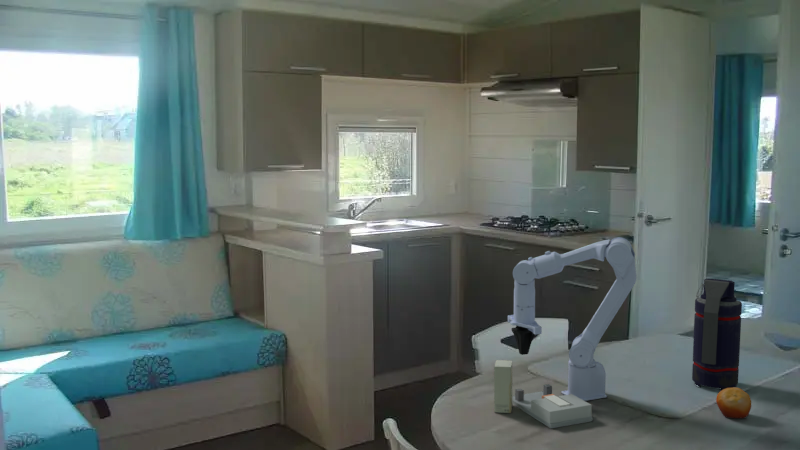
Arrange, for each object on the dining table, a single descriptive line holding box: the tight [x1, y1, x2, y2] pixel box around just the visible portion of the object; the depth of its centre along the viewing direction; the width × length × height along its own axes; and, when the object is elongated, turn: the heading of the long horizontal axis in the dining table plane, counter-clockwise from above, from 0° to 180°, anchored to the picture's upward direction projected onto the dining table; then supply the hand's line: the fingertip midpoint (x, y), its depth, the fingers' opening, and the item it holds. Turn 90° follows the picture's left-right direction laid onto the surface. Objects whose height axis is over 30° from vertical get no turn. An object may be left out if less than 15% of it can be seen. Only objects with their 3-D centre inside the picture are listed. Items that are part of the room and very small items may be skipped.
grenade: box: [691, 278, 743, 391], centre depth 216 cm, size 14×12×30 cm
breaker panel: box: [512, 383, 593, 429], centre depth 201 cm, size 12×21×4 cm, turn 22°
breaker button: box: [542, 393, 570, 407], centre depth 197 cm, size 3×8×3 cm, turn 22°
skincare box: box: [493, 359, 513, 414], centre depth 201 cm, size 6×4×12 cm
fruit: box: [715, 386, 752, 419], centre depth 196 cm, size 8×8×8 cm
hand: (523, 353), depth 214 cm, fingers closed
